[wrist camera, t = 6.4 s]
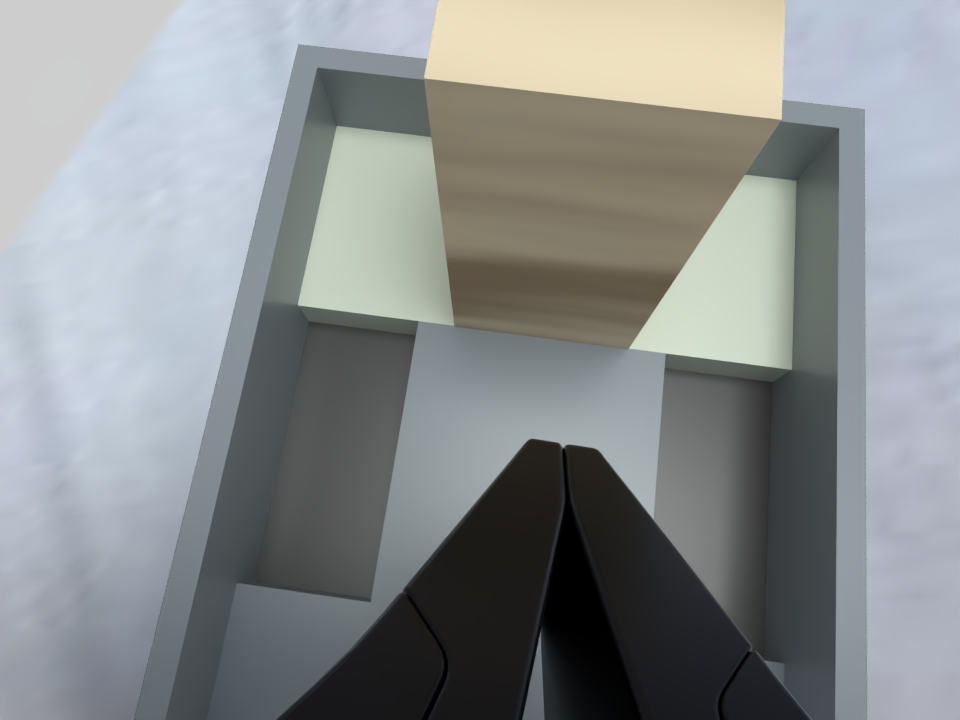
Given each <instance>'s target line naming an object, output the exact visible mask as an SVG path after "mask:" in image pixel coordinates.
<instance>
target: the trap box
mask: <svg viewBox="0 0 960 720" xmlns="http://www.w3.org/2000/svg"><path fill="white" fill-rule="evenodd" d="M426 64H427V59H421V58H413V57H404V56H395V55H386V54H378V53H369V52H360V51H352V50H343V49H334V48H326V47H317V46H308V45H299V44H298V48H297V52H296V56H295V61H294V65H293V69H292V73H291V77H290V81H289V85H288V89H287V93H286V98H285V102H284V106H283V110H282V114H281V118H280V122H279V126H278V130H277V134H276V139H275V143H274V147H273V151H272V155H271V159H270V163H269V167H268V171H267V176H266V180H265V184H264V188H263V192H262V196H261V200H260V204H259V208H258V213H257V217H256V221H255V225H254V229H253V233H252V237H251V241H250V245H249V249H248V254H247V258H246V262H245V266H244V270H243V274H242V278H241V282H240V286H239V291H238V295H237V299H236V303H235V307H234V311H233V315H232V319H231V323H230V328H229V332H228V336H227V340H226V344H225V348H224V352H223V356H222V360H221V365H220V369H219V373H218V377H217V381H216V385H215V389H214V393H213V397H212V401H211V406H210V410H209V414H208V418H207V422H206V426H205V430H204V434H203V438H202V443H201V447H200V451H199V455H198V459H197V463H196V467H195V471H194V475H193V480H192V484H191V488H190V492H189V496H188V500H187V504H186V508H185V512H184V516H183V521H182V525H181V529H180V533H179V537H178V541H177V545H176V549H175V553H174V558H173V562H172V566H171V570H170V574H169V578H168V582H167V586H166V590H165V595H164V599H163V603H162V607H161V611H160V615H159V619H158V623H157V627H156V632H155V636H154V640H153V644H152V648H151V652H150V656H149V660H148V664H147V668H146V673H145V677H144V681H143V685H142V689H141V693H140V697H139V701H138V705H137V710H136V714H135V718H134V720H274V719H276V718H277V717H278V716H279V715H280V714H281V713H282V712H283V711H284V710H285V709H287V708H288V707H289V706H290V705H291V704H292V703H293V702H294V701H295V700H297V699H298V698H299V697H300V696H301V695H302V694H303V693H304V692H305V691H307V690H308V689H309V688H310V687H311V686H312V685H313V684H314V683H315V682H316V681H317V680H318V679H319V678H320V677H321V676H322V675H324V674H325V673H326V672H327V671H328V670H329V669H330V668H331V667H332V666H333V665H334V664H335V663H336V662H337V661H338V660H339V659H340V658H341V657H342V656H343V655H344V654H345V653H346V652H348V651H349V650H350V649H351V647H352V646H353V645H354V644H355V643H356V642H357V641H358V640H359V639H360V638H361V636H362V635H363V634H364V633H365V632H366V631H367V630H368V629H369V628H370V626H371V625H372V624H373V623H374V622H375V621H376V620H377V619H378V618H379V617H380V615H381V614H382V613H383V612H384V611H385V609H386V608H387V607H388V606H389V605H390V603H391V602H392V601H393V600H394V599H395V597H396V596H397V595H398V594H399V593H402V591H403V588H404V587H405V586H406V585H407V584H408V582H409V581H410V580H411V579H412V578H413V576H414V575H415V574H416V573H417V572H418V570H419V569H420V568H421V567H422V566H423V564H424V563H425V562H426V561H427V560H428V559H429V557H430V556H431V555H432V554H433V553H434V551H435V550H436V549H437V548H438V547H439V545H440V544H441V543H442V542H443V541H444V539H445V538H446V537H447V536H448V535H449V533H450V532H451V531H452V530H453V529H454V527H455V526H456V525H457V524H458V523H459V521H460V520H461V519H462V518H463V517H464V515H465V514H466V513H467V512H468V511H469V509H470V508H471V507H472V506H473V505H474V504H475V502H476V501H477V500H478V499H479V498H480V496H481V495H482V494H483V493H484V492H485V490H486V489H487V488H488V487H489V486H490V484H491V483H492V482H493V481H494V480H495V478H496V477H497V476H498V475H499V474H500V472H501V471H502V470H503V469H504V468H505V466H506V465H507V464H508V463H509V462H510V460H511V459H512V458H513V457H514V456H515V454H516V453H517V452H518V451H519V450H520V449H521V447H522V446H523V445H524V444H525V443H526V442H527V441H528V440H529V439H539V440H545V441H551V442H557V443H560V444H561V445H562V447H564V446H565V445H568V444H571V445H577V446H584V447H590V448H595V449H597V450H599V451H600V452H601V453H602V455H603V456H604V457H605V458H606V460H607V461H608V462H609V464H610V465H611V466H612V467H613V469H614V470H615V471H616V472H617V474H618V475H619V476H620V478H621V479H622V480H623V481H624V483H625V484H626V485H627V487H628V488H629V489H630V490H631V492H632V493H633V494H634V495H635V497H636V498H637V499H638V501H639V502H640V503H641V504H642V506H643V507H644V508H645V509H646V511H647V512H648V513H649V515H650V516H651V517H652V518H653V520H654V521H655V522H656V523H657V525H658V526H659V527H660V529H661V530H662V531H663V532H664V534H665V535H666V536H667V538H668V539H669V540H670V541H671V543H672V544H673V545H674V546H675V548H676V549H677V550H678V552H679V553H680V554H681V555H682V557H683V558H684V559H685V560H686V562H687V563H688V564H689V566H690V567H691V568H692V569H693V571H694V572H695V573H696V574H697V576H698V577H699V578H700V580H701V581H702V582H703V583H704V585H705V586H706V587H707V589H708V590H709V591H710V592H711V594H712V595H713V596H714V597H715V599H716V600H717V601H718V603H719V604H720V605H721V606H722V608H723V609H724V610H725V611H726V613H727V614H728V615H729V617H730V618H731V619H732V620H733V622H734V623H735V624H736V625H737V627H738V628H739V629H740V631H741V632H742V633H743V634H744V636H745V637H746V638H747V640H748V641H749V642H750V643H751V645H752V650H751V651H753V650H754V651H757V652H758V653H759V654H760V656H761V657H762V658H763V659H764V661H765V662H766V663H767V665H768V666H769V667H770V668H771V670H772V671H773V672H774V673H775V675H776V676H777V677H778V679H779V680H780V681H781V682H782V683H783V685H784V686H785V687H786V688H787V690H788V691H789V692H790V693H791V694H792V696H793V697H794V698H795V699H796V700H797V702H798V703H799V704H800V705H801V707H802V708H803V709H804V710H805V711H806V713H807V714H808V715H809V716H810V717H811V719H812V720H867V637H866V371H865V109H856V108H848V107H839V106H830V105H822V104H813V103H804V102H795V101H787V100H782V120H781V122H780V123H779V125H778V126H777V127H776V129H775V130H774V132H773V133H772V135H771V136H770V138H769V139H768V141H767V142H766V144H765V145H764V147H763V148H762V150H761V151H760V153H759V154H758V156H757V157H756V159H755V160H754V162H753V163H752V165H751V166H750V168H749V169H748V171H747V172H746V174H745V175H744V177H743V178H742V180H741V181H740V183H739V184H738V186H737V187H736V189H735V190H734V192H733V193H732V195H731V196H730V198H729V199H728V201H727V202H726V204H725V205H724V207H723V208H722V210H721V211H720V213H719V214H718V216H717V217H716V219H715V220H714V222H713V223H712V225H711V226H710V228H709V229H708V231H707V232H706V234H705V235H704V237H703V238H702V240H701V241H700V243H699V244H698V246H697V247H696V249H695V250H694V252H693V253H692V255H691V256H690V258H689V259H688V261H687V262H686V264H685V265H684V267H683V268H682V270H681V271H680V273H679V274H678V276H677V277H676V279H675V280H674V282H673V283H672V285H671V286H670V288H669V289H668V291H667V292H666V294H665V295H664V297H663V298H662V300H661V301H660V303H659V304H658V306H657V307H656V309H655V310H654V312H653V313H652V315H651V316H650V318H649V319H648V321H647V322H646V324H645V325H644V327H643V328H642V330H641V331H640V333H639V334H638V336H637V337H636V339H635V340H634V342H633V343H632V345H631V346H630V348H629V349H623V348H615V347H608V346H600V345H592V344H585V343H577V342H569V341H562V340H554V339H546V338H539V337H531V336H523V335H516V334H508V333H500V332H493V331H485V330H477V329H469V328H462V327H455V326H454V318H453V310H452V301H451V293H450V285H449V277H448V269H447V261H446V253H445V245H444V237H443V229H442V221H441V212H440V204H439V196H438V188H437V180H436V172H435V164H434V156H433V148H432V140H431V132H430V123H429V115H428V107H427V99H426V91H425V83H424V75H425V70H426ZM522 720H544V699H543V678H542V657H541V632H540V637H539V642H538V647H537V652H536V656H535V661H534V666H533V671H532V676H531V681H530V685H529V690H528V695H527V700H526V705H525V709H524V714H523V719H522Z"/></svg>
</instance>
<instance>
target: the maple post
mask: <svg viewBox="0 0 960 720" xmlns="http://www.w3.org/2000/svg"><path fill="white" fill-rule="evenodd" d="M784 28H785V0H438V5H437V11H436V16H435V21H434V27H433V32H432V37H431V43H430V48H429V54H428V59H427V64H426V70H425V75H424V83H425V91H426V99H427V107H428V115H429V123H430V132H431V140H432V148H433V156H434V164H435V172H436V180H437V188H438V196H439V204H440V212H441V221H442V229H443V237H444V245H445V253H446V261H447V269H448V277H449V285H450V293H451V301H452V310H453V318H454V326H455V327H462V328H469V329H477V330H485V331H493V332H500V333H508V334H516V335H523V336H531V337H539V338H546V339H554V340H562V341H569V342H577V343H585V344H592V345H600V346H608V347H615V348H623V349H629V348H630V346H631V345H632V343H633V342H634V340H635V339H636V337H637V336H638V334H639V333H640V331H641V330H642V328H643V327H644V325H645V324H646V322H647V321H648V319H649V318H650V316H651V315H652V313H653V312H654V310H655V309H656V307H657V306H658V304H659V303H660V301H661V300H662V298H663V297H664V295H665V294H666V292H667V291H668V289H669V288H670V286H671V285H672V283H673V282H674V280H675V279H676V277H677V276H678V274H679V273H680V271H681V270H682V268H683V267H684V265H685V264H686V262H687V261H688V259H689V258H690V256H691V255H692V253H693V252H694V250H695V249H696V247H697V246H698V244H699V243H700V241H701V240H702V238H703V237H704V235H705V234H706V232H707V231H708V229H709V228H710V226H711V225H712V223H713V222H714V220H715V219H716V217H717V216H718V214H719V213H720V211H721V210H722V208H723V207H724V205H725V204H726V202H727V201H728V199H729V198H730V196H731V195H732V193H733V192H734V190H735V189H736V187H737V186H738V184H739V183H740V181H741V180H742V178H743V177H744V175H745V174H746V172H747V171H748V169H749V168H750V166H751V165H752V163H753V162H754V160H755V159H756V157H757V156H758V154H759V153H760V151H761V150H762V148H763V147H764V145H765V144H766V142H767V141H768V139H769V138H770V136H771V135H772V133H773V132H774V130H775V129H776V127H777V126H778V125H779V123H780V122H781V120H782V93H783V60H784Z"/></svg>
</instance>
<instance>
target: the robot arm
mask: <svg viewBox="0 0 960 720" xmlns="http://www.w3.org/2000/svg"><path fill="white" fill-rule="evenodd" d="M540 632H541V657H542V678H543V699H544V720H812V719H811V717H810V716H809V715H808V714H807V713H806V711H805V710H804V709H803V708H802V707H801V705H800V704H799V703H798V702H797V700H796V699H795V698H794V697H793V696H792V694H791V693H790V692H789V691H788V690H787V688H786V687H785V686H784V685H783V683H782V682H781V681H780V680H779V679H778V677H777V676H776V675H775V673H774V672H773V671H772V670H771V668H770V667H769V666H768V665H767V663H766V662H765V661H764V659H763V658H762V657H761V656H760V654H759V653H758V652H757V651H754V650H753V651H751V650H752V645H751V643H750V642H749V641H748V640H747V638H746V637H745V636H744V634H743V633H742V632H741V631H740V629H739V628H738V627H737V625H736V624H735V623H734V622H733V620H732V619H731V618H730V617H729V615H728V614H727V613H726V611H725V610H724V609H723V608H722V606H721V605H720V604H719V603H718V601H717V600H716V599H715V597H714V596H713V595H712V594H711V592H710V591H709V590H708V589H707V587H706V586H705V585H704V583H703V582H702V581H701V580H700V578H699V577H698V576H697V574H696V573H695V572H694V571H693V569H692V568H691V567H690V566H689V564H688V563H687V562H686V560H685V559H684V558H683V557H682V555H681V554H680V553H679V552H678V550H677V549H676V548H675V546H674V545H673V544H672V543H671V541H670V540H669V539H668V538H667V536H666V535H665V534H664V532H663V531H662V530H661V529H660V527H659V526H658V525H657V523H656V522H655V521H654V520H653V518H652V517H651V516H650V515H649V513H648V512H647V511H646V509H645V508H644V507H643V506H642V504H641V503H640V502H639V501H638V499H637V498H636V497H635V495H634V494H633V493H632V492H631V490H630V489H629V488H628V487H627V485H626V484H625V483H624V481H623V480H622V479H621V478H620V476H619V475H618V474H617V472H616V471H615V470H614V469H613V467H612V466H611V465H610V464H609V462H608V461H607V460H606V458H605V457H604V456H603V455H602V453H601V452H600V451H599V450H597V449H595V448H590V447H584V446H577V445H571V444H568V445H565V446H564V447H562V445H561V444H560V443H557V442H551V441H545V440H539V439H529V440H528V441H527V442H526V443H525V444H524V445H523V446H522V447H521V449H520V450H519V451H518V452H517V453H516V454H515V456H514V457H513V458H512V459H511V460H510V462H509V463H508V464H507V465H506V466H505V468H504V469H503V470H502V471H501V472H500V474H499V475H498V476H497V477H496V478H495V480H494V481H493V482H492V483H491V484H490V486H489V487H488V488H487V489H486V490H485V492H484V493H483V494H482V495H481V496H480V498H479V499H478V500H477V501H476V502H475V504H474V505H473V506H472V507H471V508H470V509H469V511H468V512H467V513H466V514H465V515H464V517H463V518H462V519H461V520H460V521H459V523H458V524H457V525H456V526H455V527H454V529H453V530H452V531H451V532H450V533H449V535H448V536H447V537H446V538H445V539H444V541H443V542H442V543H441V544H440V545H439V547H438V548H437V549H436V550H435V551H434V553H433V554H432V555H431V556H430V557H429V559H428V560H427V561H426V562H425V563H424V564H423V566H422V567H421V568H420V569H419V570H418V572H417V573H416V574H415V575H414V576H413V578H412V579H411V580H410V581H409V582H408V584H407V585H406V586H405V587H404V588H403V591H402V593H399V594H398V595H397V596H396V597H395V599H394V600H393V601H392V602H391V603H390V605H389V606H388V607H387V608H386V609H385V611H384V612H383V613H382V614H381V615H380V617H379V618H378V619H377V620H376V621H375V622H374V623H373V624H372V625H371V626H370V628H369V629H368V630H367V631H366V632H365V633H364V634H363V635H362V636H361V638H360V639H359V640H358V641H357V642H356V643H355V644H354V645H353V646H352V647H351V649H350V650H349V651H348V652H346V653H345V654H344V655H343V656H342V657H341V658H340V659H339V660H338V661H337V662H336V663H335V664H334V665H333V666H332V667H331V668H330V669H329V670H328V671H327V672H326V673H325V674H324V675H322V676H321V677H320V678H319V679H318V680H317V681H316V682H315V683H314V684H313V685H312V686H311V687H310V688H309V689H308V690H307V691H305V692H304V693H303V694H302V695H301V696H300V697H299V698H298V699H297V700H295V701H294V702H293V703H292V704H291V705H290V706H289V707H288V708H287V709H285V710H284V711H283V712H282V713H281V714H280V715H279V716H278V717H277V718H276V719H274V720H522V719H523V714H524V709H525V705H526V700H527V695H528V690H529V685H530V681H531V676H532V671H533V666H534V661H535V656H536V652H537V647H538V642H539V637H540Z"/></svg>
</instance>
